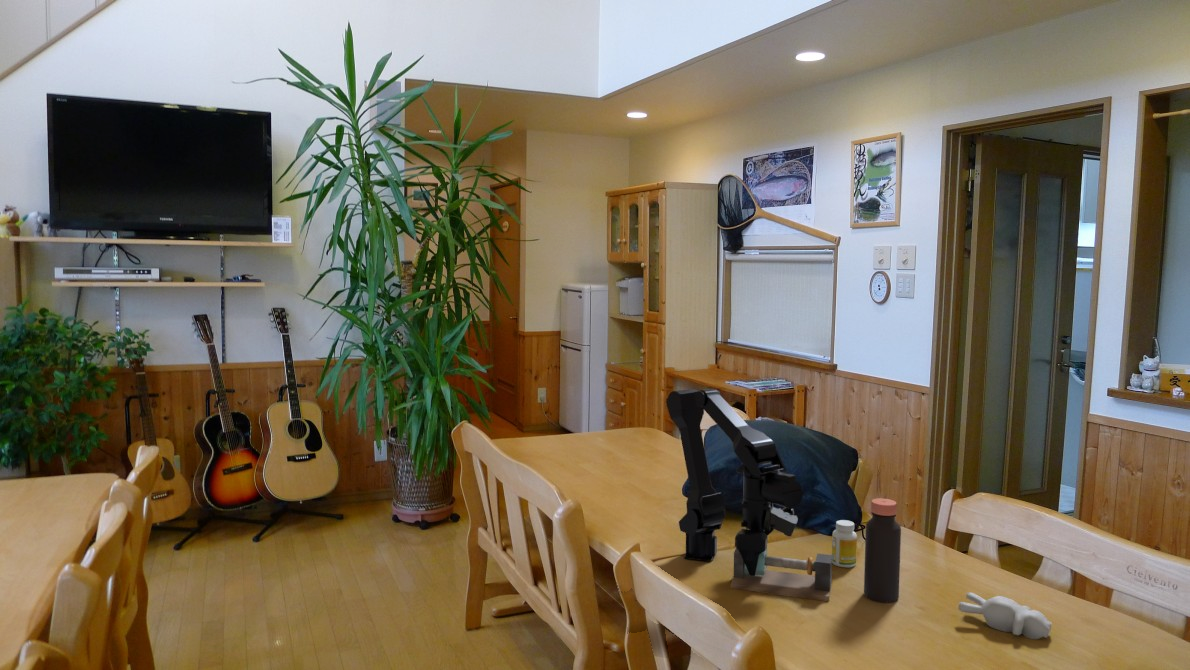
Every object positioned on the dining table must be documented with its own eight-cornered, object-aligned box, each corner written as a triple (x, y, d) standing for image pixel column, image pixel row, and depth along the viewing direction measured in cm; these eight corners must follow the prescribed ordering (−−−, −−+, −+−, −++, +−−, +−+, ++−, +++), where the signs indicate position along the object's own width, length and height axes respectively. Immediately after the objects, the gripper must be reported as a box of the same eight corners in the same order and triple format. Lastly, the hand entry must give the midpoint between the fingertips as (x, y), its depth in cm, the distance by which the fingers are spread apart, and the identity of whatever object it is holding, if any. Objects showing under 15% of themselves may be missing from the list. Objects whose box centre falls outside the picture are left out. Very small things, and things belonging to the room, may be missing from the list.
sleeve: (744, 573, 170) (744, 551, 170) (748, 565, 175) (748, 543, 174) (763, 575, 169) (763, 553, 168) (766, 567, 173) (767, 545, 173)
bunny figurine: (1047, 627, 142) (958, 596, 151) (1042, 654, 143) (954, 621, 152) (1056, 609, 149) (971, 580, 158) (1051, 634, 150) (966, 604, 159)
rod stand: (730, 588, 169) (731, 556, 168) (738, 570, 178) (738, 540, 178) (828, 601, 162) (829, 568, 161) (831, 582, 171) (832, 550, 171)
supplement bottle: (826, 563, 182) (827, 522, 182) (840, 557, 186) (841, 517, 185) (847, 570, 178) (848, 528, 177) (860, 564, 182) (862, 523, 181)
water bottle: (899, 592, 166) (903, 499, 164) (897, 605, 160) (900, 508, 158) (865, 587, 169) (868, 495, 167) (861, 599, 163) (864, 504, 161)
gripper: (790, 513, 159) (789, 589, 160) (799, 488, 176) (798, 556, 178) (734, 508, 162) (733, 582, 164) (749, 483, 180) (748, 550, 181)
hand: (755, 567), depth 172 cm, fingers open, 9 cm apart
